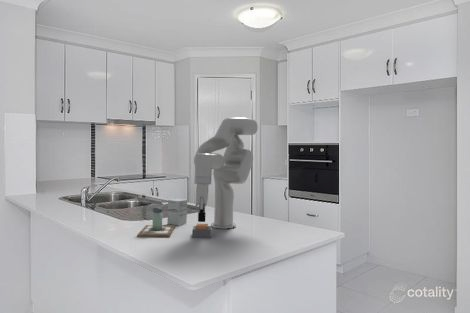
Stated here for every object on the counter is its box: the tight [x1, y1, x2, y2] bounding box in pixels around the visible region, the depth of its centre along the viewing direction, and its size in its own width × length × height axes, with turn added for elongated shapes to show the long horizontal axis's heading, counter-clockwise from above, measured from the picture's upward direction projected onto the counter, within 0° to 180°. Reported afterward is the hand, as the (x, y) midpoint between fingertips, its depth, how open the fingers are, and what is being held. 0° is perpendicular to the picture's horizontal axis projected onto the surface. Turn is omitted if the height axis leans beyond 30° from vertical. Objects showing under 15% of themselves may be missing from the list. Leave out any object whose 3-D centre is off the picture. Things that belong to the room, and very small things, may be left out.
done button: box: [195, 223, 209, 229], centre depth 163 cm, size 5×5×3 cm
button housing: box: [191, 225, 212, 239], centre depth 163 cm, size 8×8×4 cm
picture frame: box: [136, 224, 176, 238], centre depth 168 cm, size 20×14×1 cm
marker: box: [152, 206, 163, 230], centre depth 168 cm, size 4×4×10 cm
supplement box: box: [166, 198, 188, 227], centre depth 188 cm, size 7×7×13 cm
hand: (201, 221), depth 163 cm, fingers closed
